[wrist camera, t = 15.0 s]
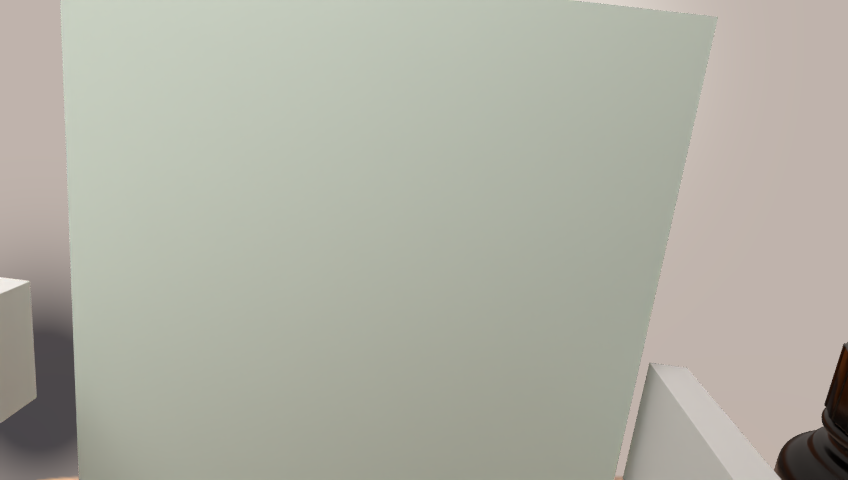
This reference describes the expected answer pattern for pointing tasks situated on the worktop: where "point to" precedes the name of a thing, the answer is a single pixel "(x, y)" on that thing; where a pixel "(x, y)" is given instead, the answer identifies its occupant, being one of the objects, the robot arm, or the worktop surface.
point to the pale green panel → (368, 232)
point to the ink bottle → (822, 437)
